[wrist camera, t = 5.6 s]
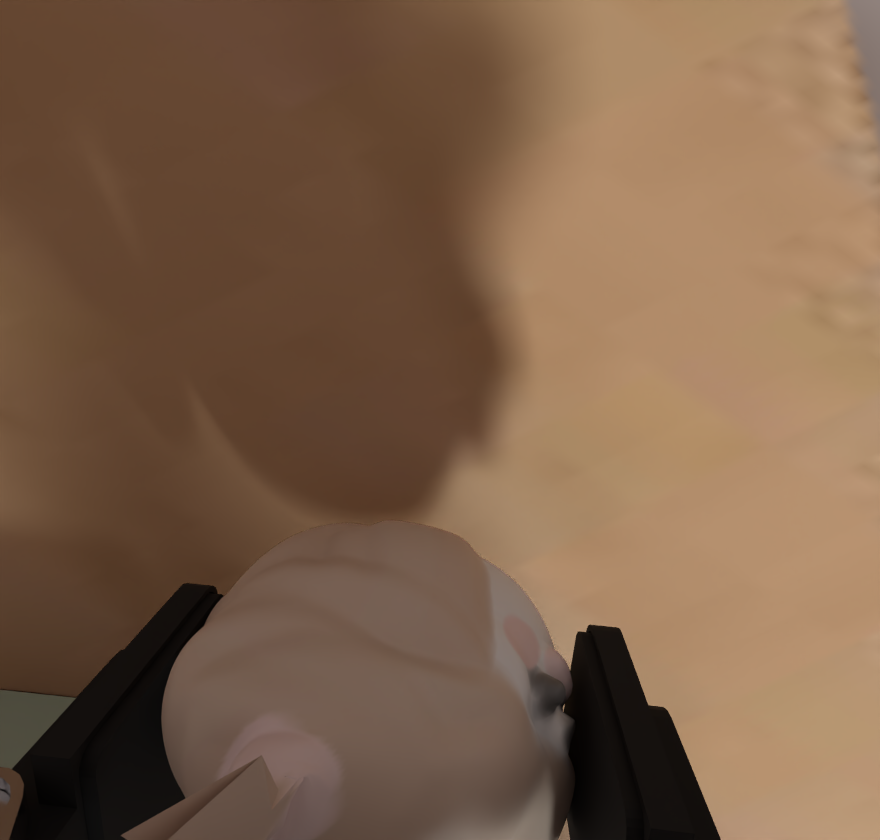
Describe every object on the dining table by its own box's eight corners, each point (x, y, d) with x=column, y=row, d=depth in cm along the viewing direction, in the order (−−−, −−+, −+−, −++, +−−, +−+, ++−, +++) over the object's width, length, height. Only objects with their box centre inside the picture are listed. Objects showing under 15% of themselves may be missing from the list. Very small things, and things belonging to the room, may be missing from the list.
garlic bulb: (570, 485, 12) (727, 904, 4) (539, 727, 14) (610, 1321, 6) (263, 462, 12) (-98, 810, 5) (273, 701, 14) (28, 1231, 6)
